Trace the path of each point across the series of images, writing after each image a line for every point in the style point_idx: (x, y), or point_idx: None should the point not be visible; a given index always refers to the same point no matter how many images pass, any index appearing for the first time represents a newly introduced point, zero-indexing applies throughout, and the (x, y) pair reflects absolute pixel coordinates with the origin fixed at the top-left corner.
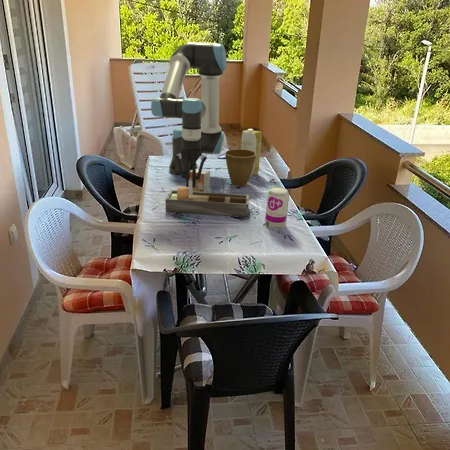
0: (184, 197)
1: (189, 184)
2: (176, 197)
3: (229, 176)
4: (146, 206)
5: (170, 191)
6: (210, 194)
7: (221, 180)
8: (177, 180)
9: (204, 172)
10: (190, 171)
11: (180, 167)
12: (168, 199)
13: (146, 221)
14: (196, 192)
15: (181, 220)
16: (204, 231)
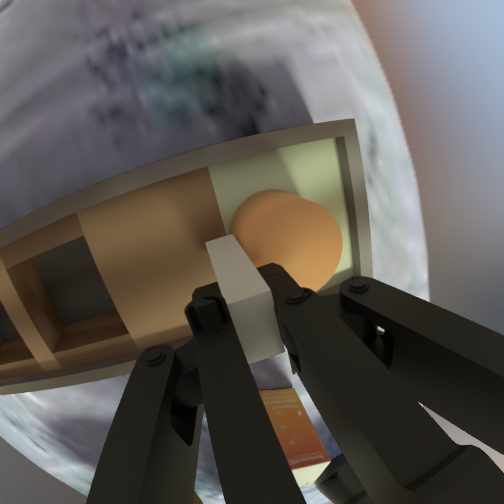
0: (252, 201)
1: (247, 272)
2: None
3: (197, 499)
4: (405, 164)
5: (368, 267)
6: (132, 355)
7: None
8: None
9: None
10: (326, 461)
11: (482, 339)
12: (338, 124)
13: (339, 8)
14: None
15: (191, 49)
16: (52, 9)
